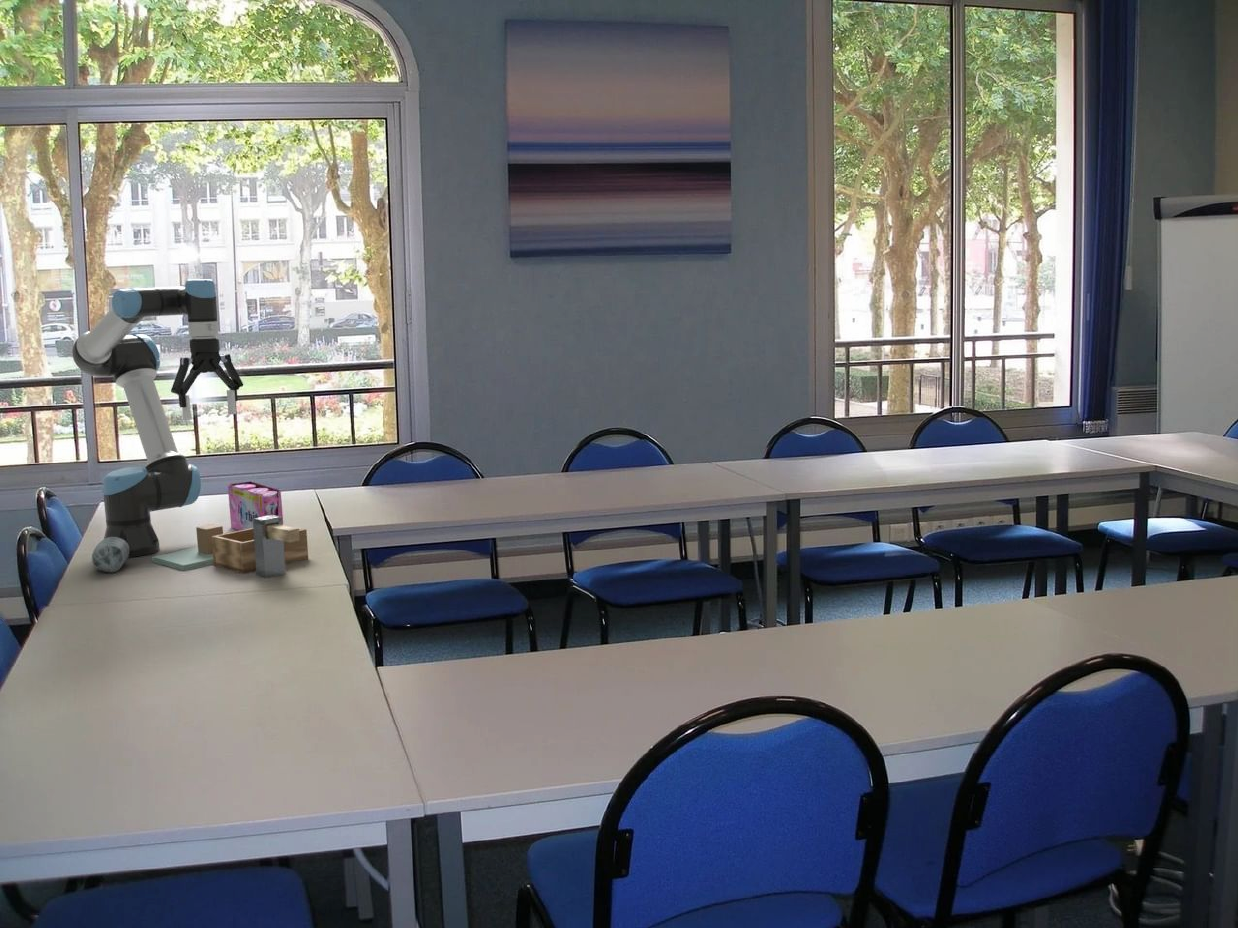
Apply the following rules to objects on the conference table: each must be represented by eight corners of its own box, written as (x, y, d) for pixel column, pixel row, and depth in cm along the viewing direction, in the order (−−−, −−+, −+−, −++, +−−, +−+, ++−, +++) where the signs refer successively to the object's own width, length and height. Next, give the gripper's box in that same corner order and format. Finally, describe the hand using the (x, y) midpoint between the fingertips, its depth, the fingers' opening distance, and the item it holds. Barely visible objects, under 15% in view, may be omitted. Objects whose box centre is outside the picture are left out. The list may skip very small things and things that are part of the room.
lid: (152, 563, 335) (150, 531, 334) (225, 548, 352) (222, 517, 350) (183, 572, 325) (181, 539, 323) (256, 556, 341) (254, 524, 340)
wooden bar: (254, 534, 318) (254, 523, 318) (264, 532, 320) (264, 521, 320) (289, 542, 308) (288, 530, 308) (299, 540, 311) (298, 528, 310)
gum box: (287, 536, 363) (284, 491, 361) (261, 540, 359) (258, 494, 356) (254, 523, 382) (251, 480, 380) (230, 527, 377) (226, 484, 375)
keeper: (256, 575, 317) (252, 518, 315) (276, 571, 322) (272, 514, 319) (265, 578, 315) (261, 520, 312) (285, 573, 319) (281, 516, 317)
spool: (129, 561, 322) (110, 528, 322) (95, 580, 320) (76, 547, 321) (144, 561, 335) (126, 530, 335) (112, 579, 334) (94, 547, 334)
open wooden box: (214, 565, 329) (211, 536, 328) (278, 551, 344) (276, 523, 343) (243, 573, 320) (241, 543, 319) (308, 558, 335) (306, 529, 334)
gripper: (168, 341, 318) (175, 422, 321) (252, 335, 337) (258, 412, 340) (153, 340, 323) (159, 420, 326) (237, 334, 341) (242, 410, 345)
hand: (210, 416), depth 333 cm, fingers open, 13 cm apart
